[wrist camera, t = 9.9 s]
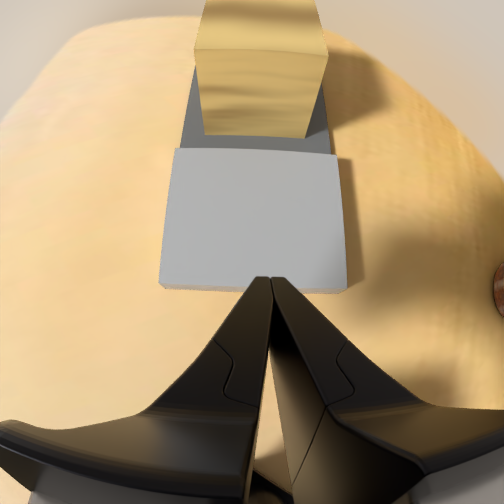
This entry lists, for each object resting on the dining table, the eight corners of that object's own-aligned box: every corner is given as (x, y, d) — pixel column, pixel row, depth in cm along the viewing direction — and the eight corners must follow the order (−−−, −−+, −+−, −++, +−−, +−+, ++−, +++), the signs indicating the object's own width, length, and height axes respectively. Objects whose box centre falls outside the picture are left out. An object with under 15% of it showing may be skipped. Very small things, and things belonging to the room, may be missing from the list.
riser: (338, 293, 22) (347, 288, 20) (165, 288, 22) (158, 283, 20) (330, 168, 25) (336, 155, 23) (179, 162, 25) (175, 148, 23)
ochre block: (304, 138, 25) (328, 56, 16) (204, 134, 25) (193, 49, 16) (297, 74, 27) (313, -2, 19) (213, 70, 27) (208, -7, 18)
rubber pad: (330, 165, 25) (332, 161, 24) (180, 159, 25) (178, 154, 24) (318, 74, 28) (319, 70, 28) (196, 68, 28) (195, 64, 27)
